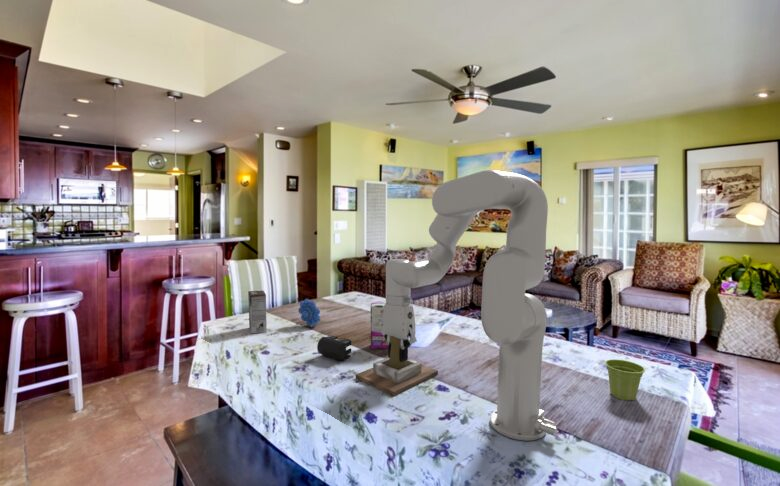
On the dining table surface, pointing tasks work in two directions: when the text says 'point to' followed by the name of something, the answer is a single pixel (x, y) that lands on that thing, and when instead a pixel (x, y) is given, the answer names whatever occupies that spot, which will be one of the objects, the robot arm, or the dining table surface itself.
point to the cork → (396, 354)
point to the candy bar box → (377, 326)
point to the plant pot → (624, 378)
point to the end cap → (334, 347)
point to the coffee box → (257, 311)
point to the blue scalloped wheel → (309, 312)
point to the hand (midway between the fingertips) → (397, 358)
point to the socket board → (396, 376)
